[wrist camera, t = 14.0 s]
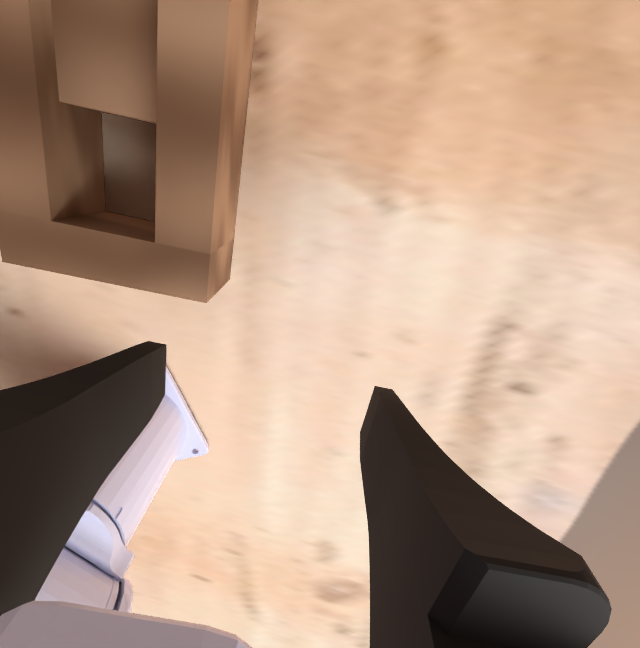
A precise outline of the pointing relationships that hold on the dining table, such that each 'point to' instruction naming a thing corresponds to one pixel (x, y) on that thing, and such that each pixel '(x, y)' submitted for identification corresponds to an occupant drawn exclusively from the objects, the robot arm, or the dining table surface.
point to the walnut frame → (131, 102)
